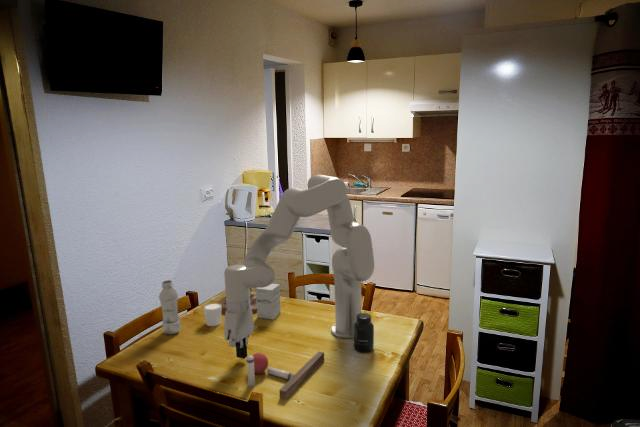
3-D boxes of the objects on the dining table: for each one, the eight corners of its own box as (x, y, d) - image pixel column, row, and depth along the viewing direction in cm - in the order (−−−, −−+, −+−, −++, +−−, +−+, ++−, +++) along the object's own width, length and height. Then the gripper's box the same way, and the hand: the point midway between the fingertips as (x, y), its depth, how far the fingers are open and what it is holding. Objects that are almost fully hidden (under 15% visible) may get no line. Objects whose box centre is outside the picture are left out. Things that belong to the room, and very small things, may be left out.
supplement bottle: (360, 355, 146) (360, 321, 144) (349, 347, 152) (349, 314, 150) (377, 350, 150) (377, 317, 147) (366, 342, 156) (366, 310, 153)
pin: (268, 365, 137) (292, 372, 132) (271, 367, 139) (295, 374, 134) (266, 372, 136) (290, 380, 132) (269, 374, 138) (293, 381, 133)
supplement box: (256, 318, 178) (255, 288, 176) (265, 310, 185) (263, 281, 182) (273, 320, 175) (271, 289, 173) (281, 312, 182) (280, 283, 180)
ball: (256, 347, 137) (256, 351, 142) (244, 363, 134) (244, 367, 139) (272, 358, 136) (271, 362, 141) (261, 375, 133) (260, 378, 138)
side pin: (256, 383, 132) (255, 356, 130) (252, 387, 130) (250, 359, 128) (251, 382, 133) (249, 354, 131) (246, 385, 131) (245, 357, 129)
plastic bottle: (176, 337, 163) (171, 285, 159) (159, 335, 165) (154, 284, 161) (184, 329, 169) (180, 279, 166) (168, 328, 171) (163, 278, 167)
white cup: (226, 321, 175) (225, 305, 174) (213, 328, 170) (212, 311, 168) (213, 318, 179) (212, 301, 178) (201, 324, 173) (199, 307, 172)
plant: (224, 297, 202) (223, 274, 199) (267, 297, 200) (266, 274, 198) (210, 316, 182) (208, 290, 180) (258, 316, 180) (256, 290, 178)
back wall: (324, 359, 145) (324, 352, 144) (285, 399, 124) (285, 391, 123) (318, 358, 146) (318, 351, 145) (279, 397, 125) (279, 389, 124)
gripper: (243, 294, 149) (246, 344, 153) (213, 310, 136) (217, 365, 140) (261, 297, 146) (264, 349, 150) (233, 314, 133) (237, 370, 137)
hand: (241, 356), depth 145 cm, fingers closed
